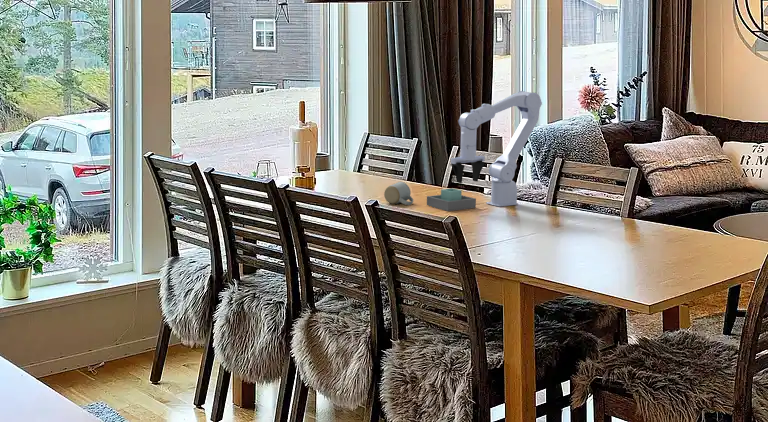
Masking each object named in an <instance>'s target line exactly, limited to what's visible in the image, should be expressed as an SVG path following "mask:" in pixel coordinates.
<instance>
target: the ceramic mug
mask: <svg viewBox="0 0 768 422" xmlns="http://www.w3.org/2000/svg"><path fill="white" fill-rule="evenodd" d="M383 195H384V199H385V201H386V202H387V203H389V204H391V205H397V204H400V203H401V204H403V205H406V206H411V204H412V205H413V203H414V198H413V197H412V196H411V188H410V186H409V185H408V184H407V183H406V182H403V181H398V182H396V183H393V184H391V185H389V186H387V187H386V188H385V189H384V193H383ZM408 200H409V201H408Z"/></svg>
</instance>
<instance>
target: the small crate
mask: <svg viewBox="0 0 768 422" xmlns="http://www.w3.org/2000/svg"><path fill="white" fill-rule="evenodd" d="M440 195H441V199H442V200H446V201H455V200H461V195H463V194H462V190H461V189H456V188H453V187H452V188H445V189H443V188H442V189H440Z"/></svg>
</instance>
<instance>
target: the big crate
mask: <svg viewBox="0 0 768 422" xmlns="http://www.w3.org/2000/svg"><path fill="white" fill-rule="evenodd" d="M427 205H429V206H428V207H430V206H432V208H434V207H435V209H438V210H442V211H446V212H451V211H459V210H469V209H476V208H477V207H476V205H477V198H476V197H475V198H474V197H473V196H472V197H470V196H466V195H463V194H462V195H461V200H455V201H446V200H442V199H441V194H437V195H436V194H435V195H427V196H426V206H427Z"/></svg>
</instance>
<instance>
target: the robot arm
mask: <svg viewBox="0 0 768 422" xmlns="http://www.w3.org/2000/svg"><path fill="white" fill-rule="evenodd" d="M542 105H543V102H542V99H541V97H540V95H539V93H537V92H530V91H524V90H519V91H518V92H515V93H513V94H511V95H509V96H507V97H505V98H503V99H502V100H499V101H498V102H496V103H494V104H489V103H482V104H481V106H479V107H477V108H476V109H473V108H472V109H470V112H464V113H461V115H460V116H459V119H458V125H459V127H460V156H456V157H451V158H450V166H451V168H452V170H453V172H454V175H455V179H456V183H458V184H462V183H463V173H464V169H465V165H464V164H466V163H470V164H471V169H472V181H474V182H479V177H480V174H481V172H482V170H483V167H484V166H485V158H486V156H484V155H477V133H478V132H477V130H478V128H479V126H480V125H481V124H482V125H483V124H484V123H486V122H488V121H490V120H492V119H494V118H495V116H496V114H498V113H500V112H502V111H505V110H507V109H510V108H513V107H517V109H518V111H519V112H520V114H521V117H522V119H521V121H520V123H519V125H518V127H516V130H515V131H514V134H513V135H512V137H511V139H510V140H509V142H508V144H507V146H506V148H505V150H504V151H503V153H502V155H500V156H498V157H497V158H496V160H495V161H494V162H492V163H491V164H490V166H489V168H488V174H489V176H490V177H491V189H490V190H491V191H490V193H491V195H490V201H487V202H485V203H486V204H488V205H491V206H495V207H507V206H516V205H519V202H517V201H518V200H517V199H518V186H517V183H516V182H515V181H514V180H513V179H514V177H515V172H516V169H517V167H518V165H517V161H516V160H517V159H518V158H519V156H520V154H521V152H522V150H523V149H524V146H525V145H526V143H527V141H528V140H529V138H530V136H531V134H532V133H533V131H534V129H535V128H536V125H537V124H538V121H539V117H540V109H541V107H542Z"/></svg>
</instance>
